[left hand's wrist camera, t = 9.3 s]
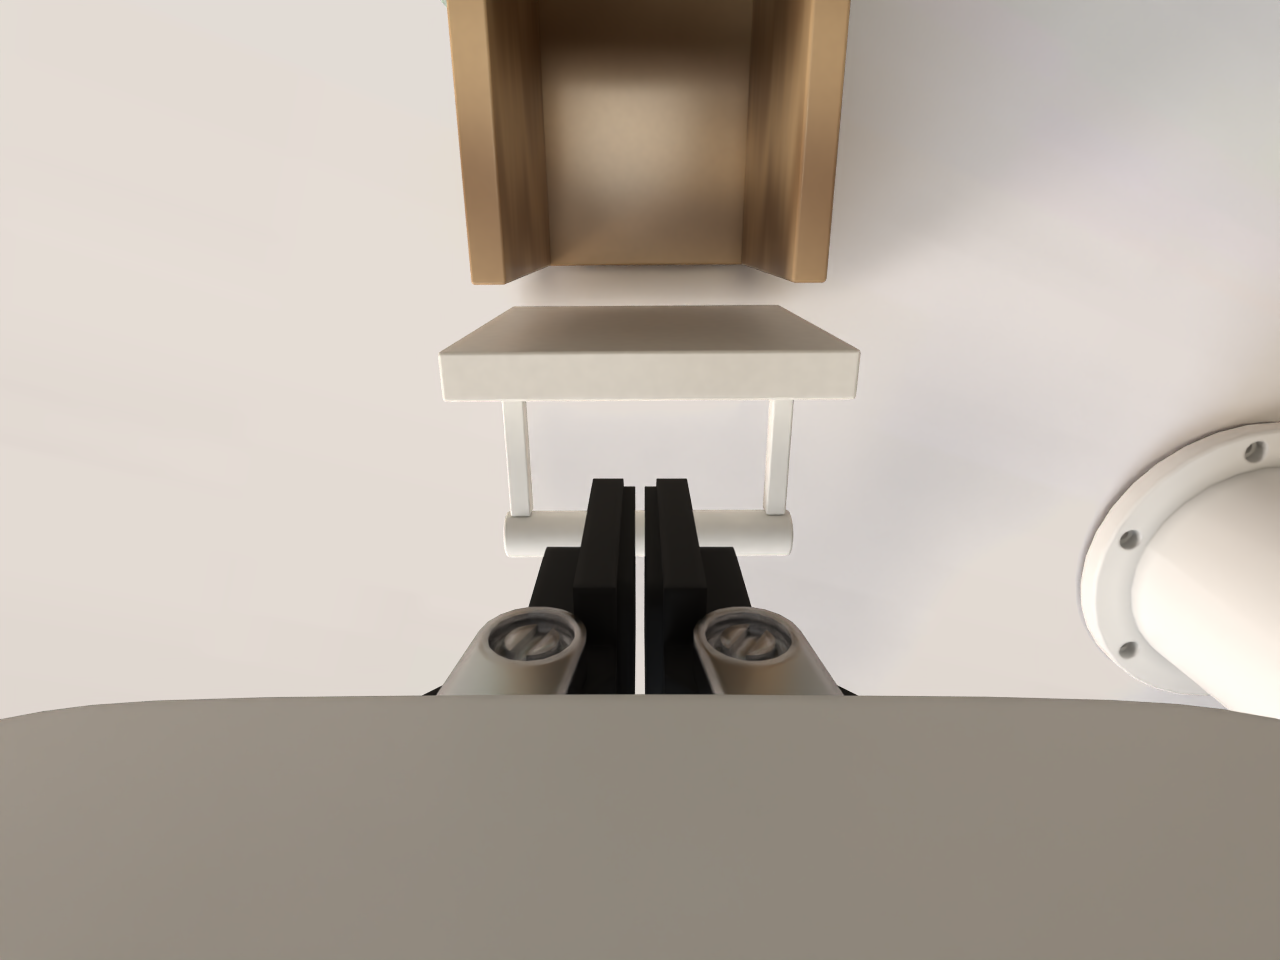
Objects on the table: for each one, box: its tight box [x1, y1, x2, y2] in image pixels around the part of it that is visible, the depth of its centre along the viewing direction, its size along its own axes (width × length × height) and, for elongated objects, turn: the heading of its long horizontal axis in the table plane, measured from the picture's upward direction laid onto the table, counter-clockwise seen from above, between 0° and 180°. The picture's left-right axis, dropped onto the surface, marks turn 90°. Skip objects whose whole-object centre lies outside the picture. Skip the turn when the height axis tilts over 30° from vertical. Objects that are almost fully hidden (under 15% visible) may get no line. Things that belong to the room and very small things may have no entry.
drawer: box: [438, 0, 860, 557], centre depth 19 cm, size 21×10×10 cm, turn 0°
